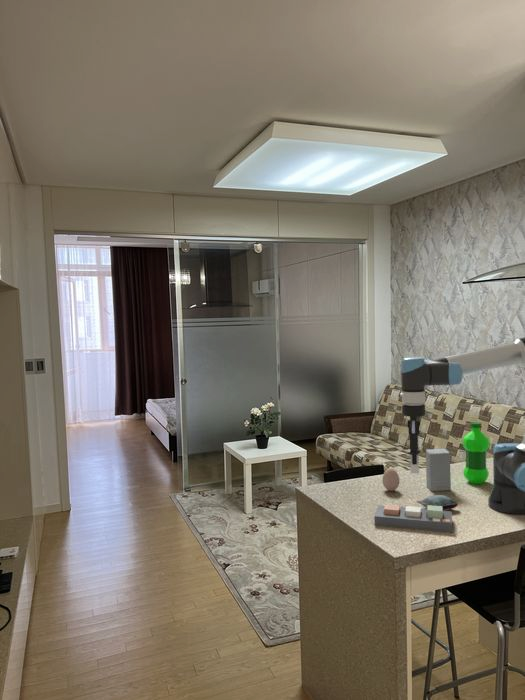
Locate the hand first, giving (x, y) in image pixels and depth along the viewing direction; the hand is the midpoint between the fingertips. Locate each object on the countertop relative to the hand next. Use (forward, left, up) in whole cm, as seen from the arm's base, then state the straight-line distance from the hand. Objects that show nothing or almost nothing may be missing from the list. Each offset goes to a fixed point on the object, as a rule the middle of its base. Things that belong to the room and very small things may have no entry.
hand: (414, 472), depth 179 cm
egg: (+11, -31, -17) cm, 37 cm away
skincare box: (-7, -38, -17) cm, 42 cm away
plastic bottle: (-22, -51, -17) cm, 58 cm away
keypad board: (+1, +1, -17) cm, 17 cm away
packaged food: (-7, -15, -17) cm, 24 cm away
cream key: (+1, +1, -16) cm, 16 cm away
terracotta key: (+8, +1, -16) cm, 18 cm away
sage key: (-6, +1, -15) cm, 17 cm away
